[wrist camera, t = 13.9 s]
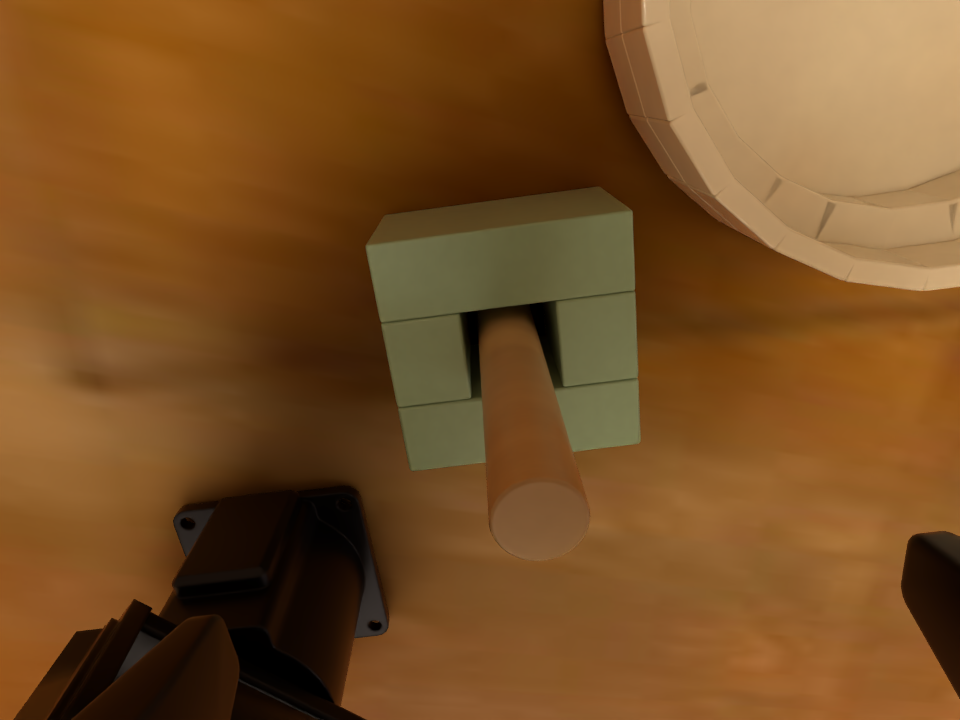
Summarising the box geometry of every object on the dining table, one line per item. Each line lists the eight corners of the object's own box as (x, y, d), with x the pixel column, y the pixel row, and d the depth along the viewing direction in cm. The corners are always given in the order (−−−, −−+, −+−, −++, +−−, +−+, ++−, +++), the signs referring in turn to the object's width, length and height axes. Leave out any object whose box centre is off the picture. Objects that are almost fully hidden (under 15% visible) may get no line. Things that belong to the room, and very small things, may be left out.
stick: (530, 325, 21) (594, 556, 10) (480, 331, 21) (495, 568, 11) (525, 276, 20) (587, 472, 10) (473, 283, 20) (482, 485, 10)
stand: (611, 383, 21) (641, 444, 18) (418, 407, 22) (410, 473, 18) (600, 185, 19) (633, 209, 15) (383, 214, 19) (364, 245, 15)
